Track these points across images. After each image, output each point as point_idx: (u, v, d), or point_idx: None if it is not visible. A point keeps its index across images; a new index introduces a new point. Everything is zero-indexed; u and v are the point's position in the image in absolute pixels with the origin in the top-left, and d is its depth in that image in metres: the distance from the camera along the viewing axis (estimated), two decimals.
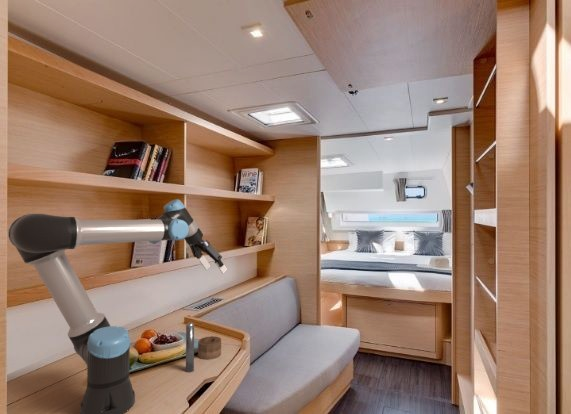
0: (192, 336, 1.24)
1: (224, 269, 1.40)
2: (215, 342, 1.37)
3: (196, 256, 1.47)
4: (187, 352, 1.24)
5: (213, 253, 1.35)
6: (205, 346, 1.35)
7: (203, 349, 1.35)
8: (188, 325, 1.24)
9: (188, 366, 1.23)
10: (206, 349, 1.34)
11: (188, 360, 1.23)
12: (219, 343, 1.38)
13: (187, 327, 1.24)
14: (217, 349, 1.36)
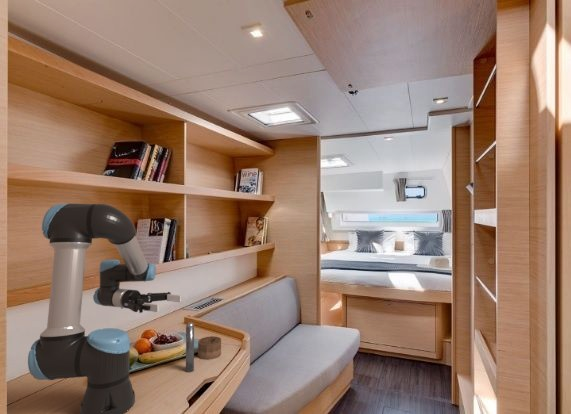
0: (192, 336, 1.24)
1: None
2: (215, 342, 1.37)
3: (139, 303, 1.23)
4: (187, 352, 1.24)
5: None
6: (205, 346, 1.35)
7: (203, 349, 1.35)
8: (188, 325, 1.24)
9: (188, 366, 1.23)
10: (206, 349, 1.34)
11: (188, 360, 1.23)
12: (219, 343, 1.38)
13: (187, 327, 1.24)
14: (217, 349, 1.36)
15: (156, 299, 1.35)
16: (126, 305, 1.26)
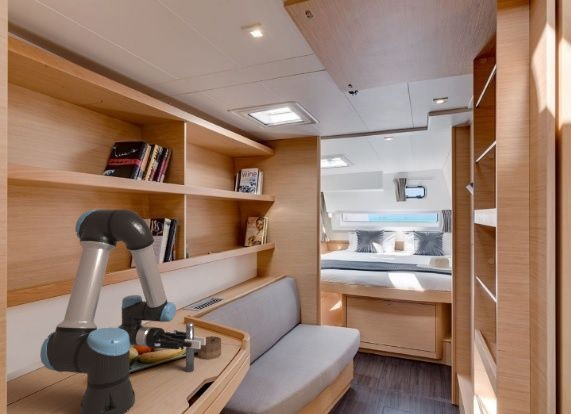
0: (192, 336, 1.24)
1: None
2: (215, 342, 1.37)
3: (179, 340, 1.23)
4: (187, 352, 1.24)
5: None
6: (205, 346, 1.35)
7: (203, 349, 1.35)
8: (188, 325, 1.24)
9: (188, 366, 1.23)
10: (206, 349, 1.34)
11: (188, 360, 1.23)
12: (219, 343, 1.38)
13: (187, 327, 1.24)
14: (217, 349, 1.36)
15: None
16: (158, 345, 1.22)
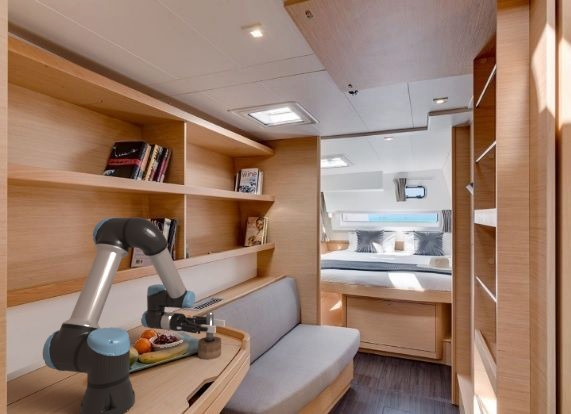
0: (212, 323, 1.39)
1: None
2: (215, 342, 1.37)
3: (197, 325, 1.36)
4: (207, 338, 1.38)
5: None
6: (205, 346, 1.35)
7: (203, 349, 1.35)
8: (208, 313, 1.39)
9: None
10: (206, 349, 1.34)
11: None
12: (219, 343, 1.38)
13: (207, 315, 1.39)
14: (217, 349, 1.36)
15: (200, 323, 1.44)
16: (179, 328, 1.36)
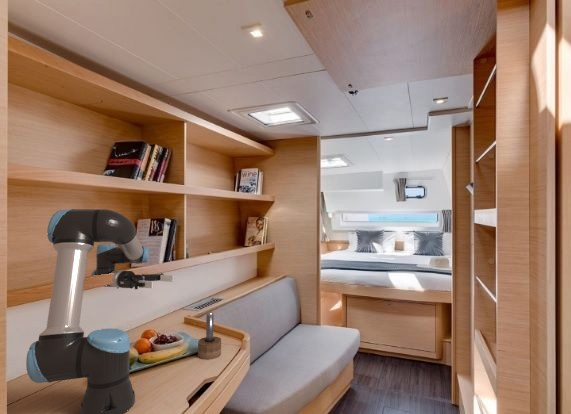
0: (212, 324, 1.39)
1: None
2: (215, 342, 1.37)
3: (135, 281, 1.33)
4: (207, 338, 1.38)
5: None
6: (205, 346, 1.35)
7: (203, 349, 1.35)
8: (208, 314, 1.38)
9: None
10: (206, 349, 1.34)
11: None
12: (219, 343, 1.38)
13: (207, 315, 1.38)
14: (217, 349, 1.36)
15: (150, 279, 1.45)
16: (122, 283, 1.35)
